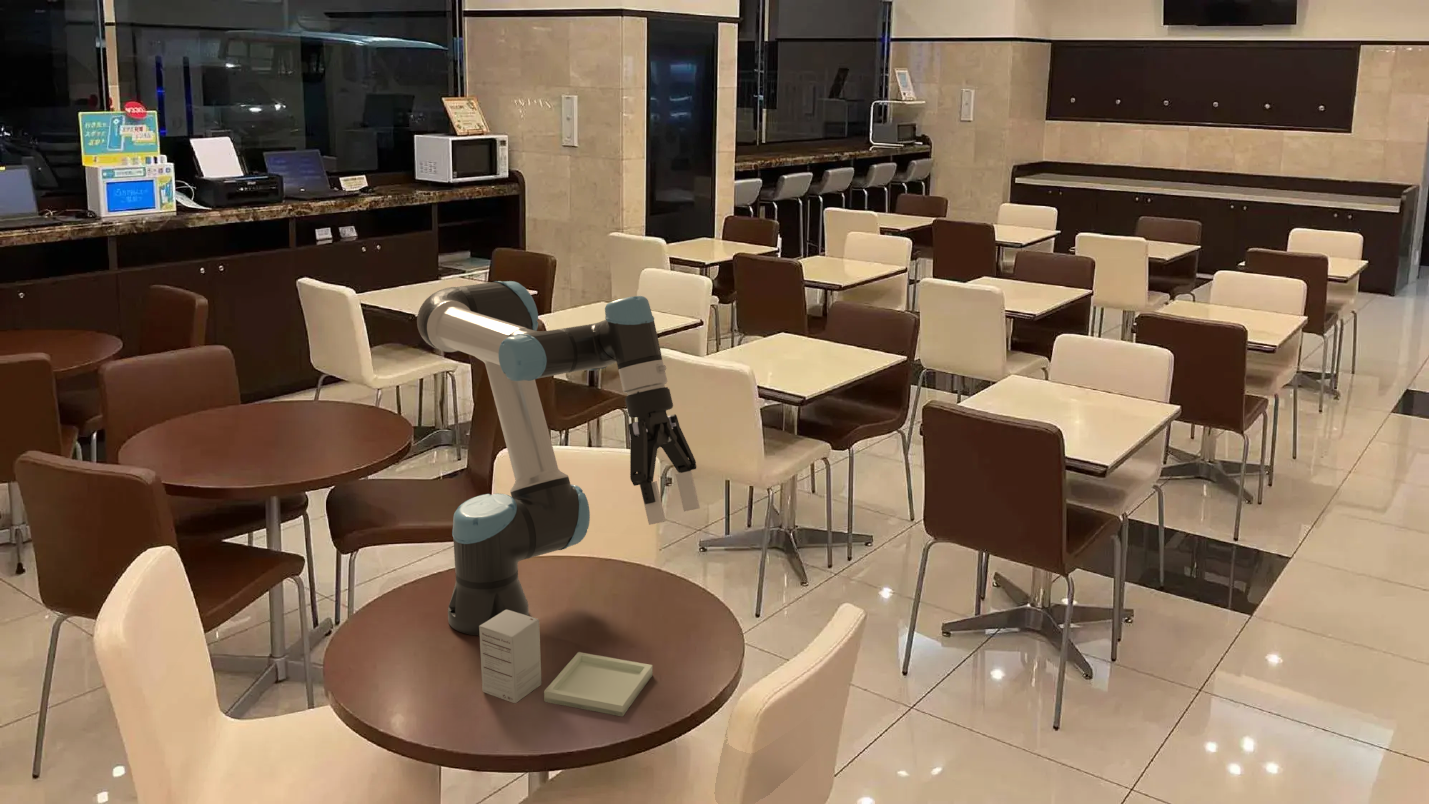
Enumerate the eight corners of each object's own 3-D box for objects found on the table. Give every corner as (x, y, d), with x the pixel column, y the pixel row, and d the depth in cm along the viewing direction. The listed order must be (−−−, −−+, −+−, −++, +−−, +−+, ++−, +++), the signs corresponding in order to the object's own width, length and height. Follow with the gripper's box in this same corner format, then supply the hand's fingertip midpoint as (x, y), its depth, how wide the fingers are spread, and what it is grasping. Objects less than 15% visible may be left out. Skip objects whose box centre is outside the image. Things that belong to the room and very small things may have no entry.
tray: (544, 701, 197) (544, 690, 196) (578, 661, 209) (578, 651, 209) (622, 716, 193) (622, 705, 192) (652, 675, 205) (652, 664, 205)
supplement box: (509, 673, 205) (506, 607, 202) (542, 685, 202) (540, 618, 198) (480, 692, 199) (477, 624, 195) (514, 704, 196) (512, 636, 192)
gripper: (632, 389, 181) (662, 524, 180) (696, 381, 204) (724, 500, 203) (590, 400, 184) (620, 533, 183) (658, 390, 207) (685, 508, 206)
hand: (675, 516), depth 193 cm, fingers open, 13 cm apart
